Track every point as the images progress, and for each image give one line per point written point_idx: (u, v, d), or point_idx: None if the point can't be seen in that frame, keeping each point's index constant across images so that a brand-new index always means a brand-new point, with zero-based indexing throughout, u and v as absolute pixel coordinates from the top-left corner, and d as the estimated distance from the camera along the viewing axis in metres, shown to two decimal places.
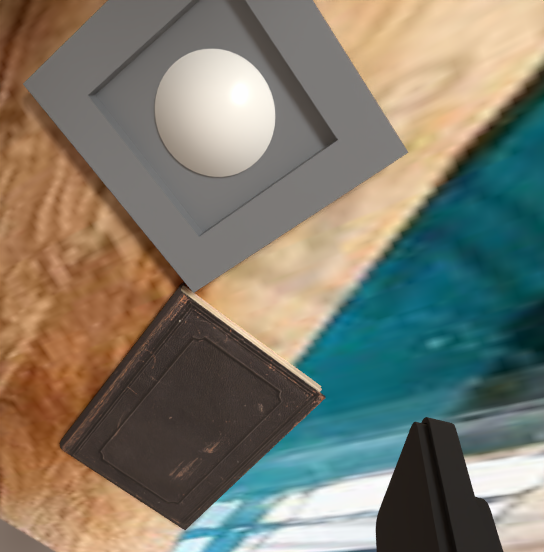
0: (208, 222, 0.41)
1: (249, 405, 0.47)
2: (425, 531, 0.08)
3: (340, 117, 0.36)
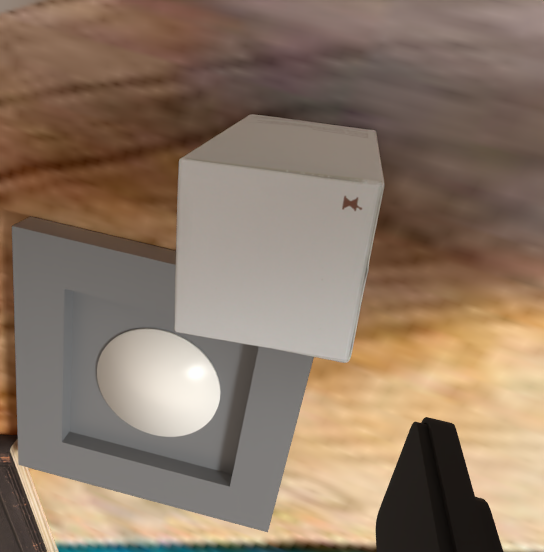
0: (81, 430, 0.40)
1: None
2: (425, 531, 0.08)
3: (245, 478, 0.37)
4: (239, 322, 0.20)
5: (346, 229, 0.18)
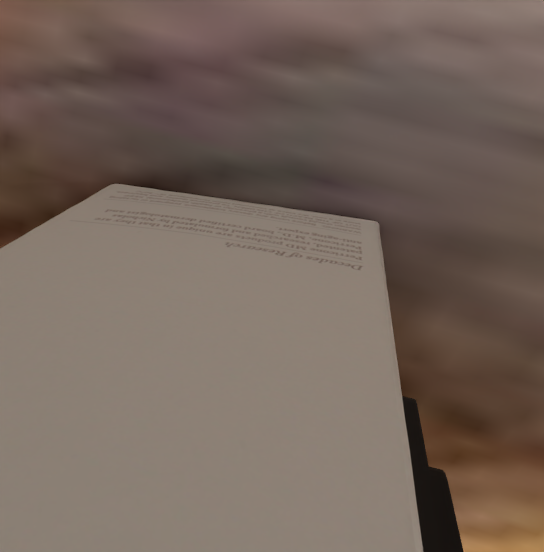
0: None
1: None
2: None
3: None
4: None
5: None
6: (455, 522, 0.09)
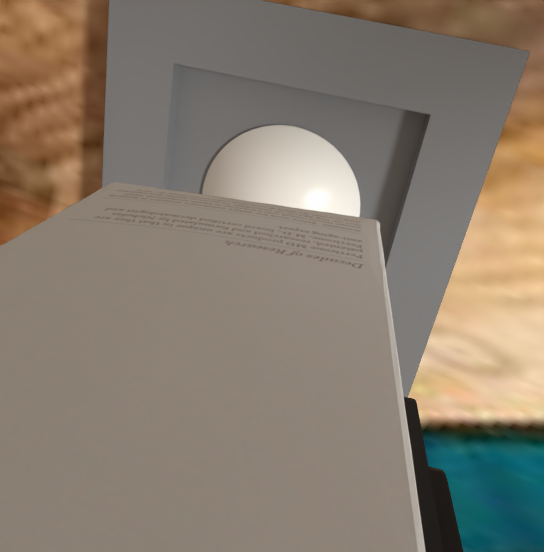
0: None
1: None
2: None
3: None
4: None
5: None
6: (455, 522, 0.09)
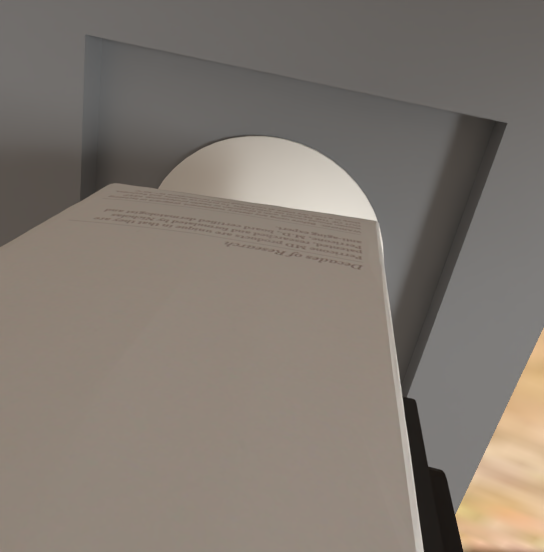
0: None
1: None
2: None
3: None
4: None
5: None
6: (455, 522, 0.09)
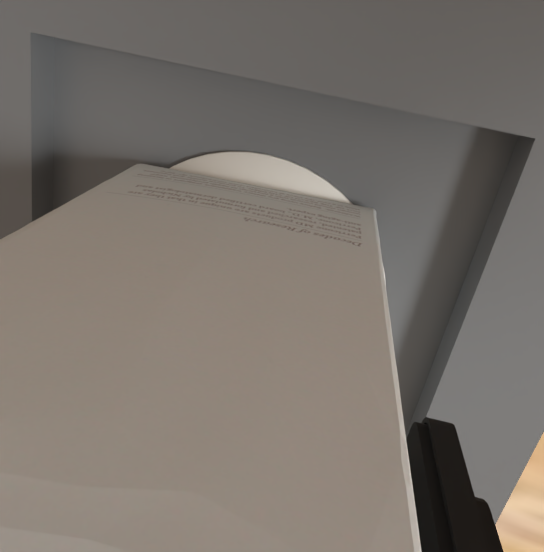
0: None
1: None
2: (425, 531, 0.08)
3: None
4: None
5: None
6: None
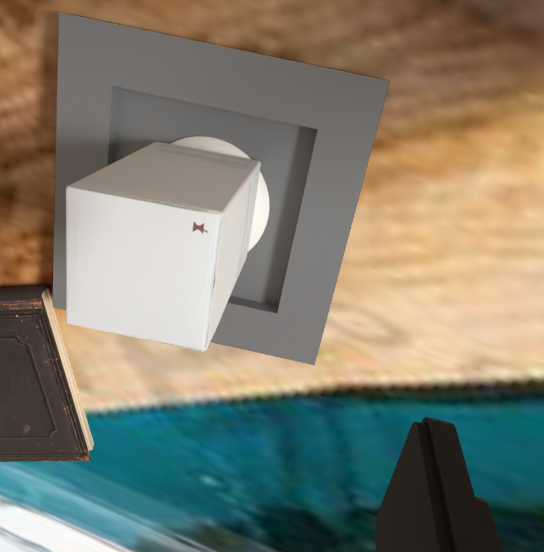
0: None
1: (17, 420, 0.44)
2: (425, 531, 0.08)
3: (294, 302, 0.36)
4: (117, 317, 0.25)
5: (196, 247, 0.23)
6: None
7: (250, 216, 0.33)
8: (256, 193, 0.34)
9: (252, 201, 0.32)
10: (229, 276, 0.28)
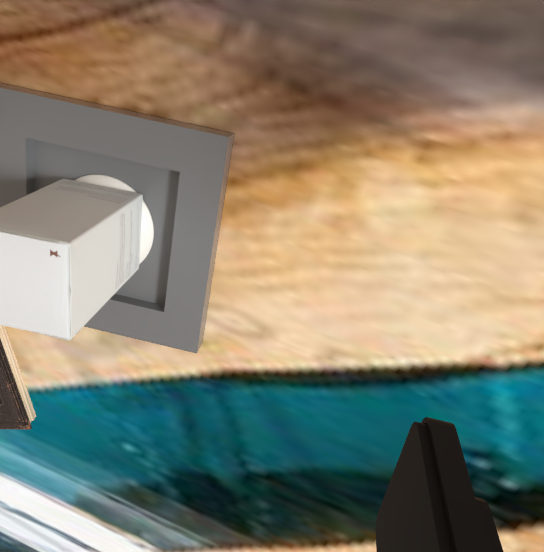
0: None
1: None
2: (425, 531, 0.08)
3: (175, 303, 0.46)
4: (7, 314, 0.35)
5: (54, 267, 0.33)
6: None
7: (131, 237, 0.43)
8: (140, 219, 0.44)
9: (131, 226, 0.42)
10: (98, 285, 0.38)
